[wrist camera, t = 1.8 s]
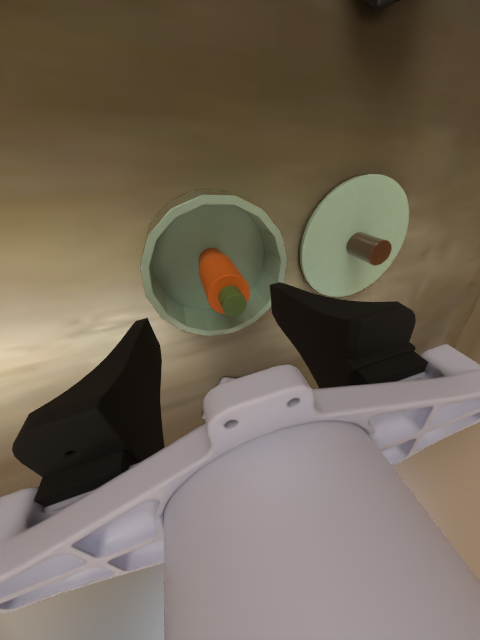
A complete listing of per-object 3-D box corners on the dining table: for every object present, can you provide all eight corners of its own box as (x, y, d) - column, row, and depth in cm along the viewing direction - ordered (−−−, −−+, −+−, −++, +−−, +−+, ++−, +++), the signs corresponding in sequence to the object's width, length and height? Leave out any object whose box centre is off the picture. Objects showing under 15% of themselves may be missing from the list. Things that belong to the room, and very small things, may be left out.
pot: (288, 223, 23) (311, 234, 19) (239, 322, 27) (250, 345, 24) (166, 161, 18) (167, 160, 14) (131, 295, 22) (125, 319, 19)
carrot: (231, 251, 22) (265, 292, 15) (219, 279, 24) (245, 330, 16) (201, 239, 21) (222, 277, 14) (190, 270, 22) (204, 320, 15)
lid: (421, 207, 26) (464, 214, 22) (353, 304, 31) (379, 322, 27) (343, 146, 21) (382, 141, 17) (276, 275, 25) (295, 293, 22)
